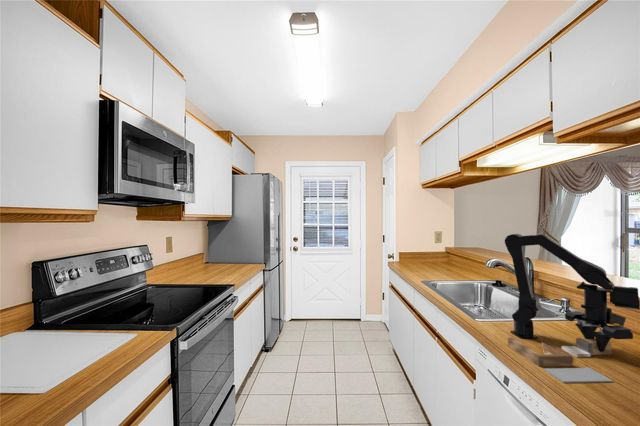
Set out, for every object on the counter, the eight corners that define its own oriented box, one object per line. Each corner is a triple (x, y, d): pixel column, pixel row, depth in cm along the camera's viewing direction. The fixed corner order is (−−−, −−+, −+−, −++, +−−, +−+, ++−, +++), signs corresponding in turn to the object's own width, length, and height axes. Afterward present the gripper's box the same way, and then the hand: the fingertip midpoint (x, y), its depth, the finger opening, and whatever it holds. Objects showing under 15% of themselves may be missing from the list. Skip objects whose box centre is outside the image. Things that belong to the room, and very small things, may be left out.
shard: (541, 345, 106) (541, 340, 106) (569, 351, 102) (569, 346, 102) (543, 357, 97) (543, 352, 98) (573, 364, 93) (573, 358, 93)
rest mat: (543, 369, 89) (543, 368, 89) (589, 369, 89) (589, 367, 89) (563, 382, 82) (563, 381, 82) (612, 381, 82) (612, 380, 82)
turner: (598, 348, 103) (598, 336, 103) (615, 356, 97) (615, 344, 97) (561, 348, 103) (561, 337, 103) (577, 357, 97) (576, 344, 97)
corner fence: (508, 345, 106) (507, 337, 106) (537, 345, 106) (536, 337, 106) (538, 366, 91) (538, 356, 91) (572, 365, 91) (572, 356, 91)
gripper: (649, 311, 91) (651, 362, 91) (592, 295, 110) (593, 337, 109) (614, 312, 91) (615, 363, 91) (563, 296, 109) (564, 338, 109)
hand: (596, 349), depth 100 cm, fingers closed on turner, 3 cm apart
